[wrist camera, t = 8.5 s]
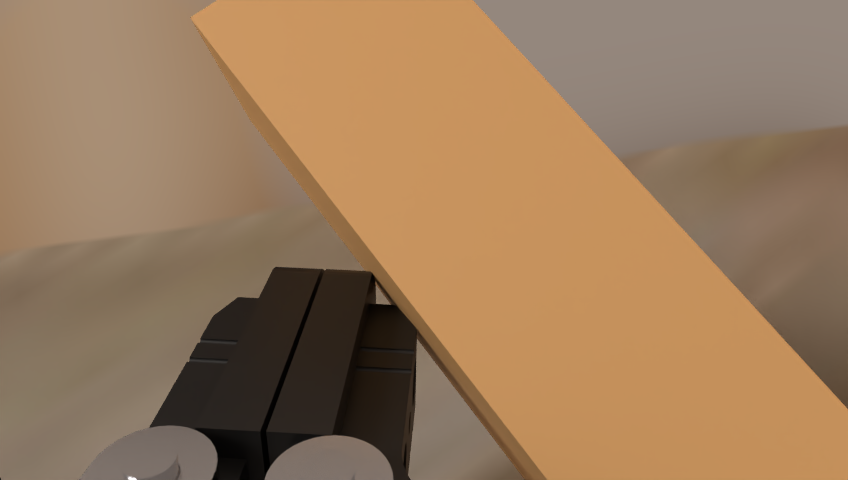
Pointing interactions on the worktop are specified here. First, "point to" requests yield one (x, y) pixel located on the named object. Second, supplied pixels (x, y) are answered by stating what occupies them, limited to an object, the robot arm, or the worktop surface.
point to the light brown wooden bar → (522, 247)
